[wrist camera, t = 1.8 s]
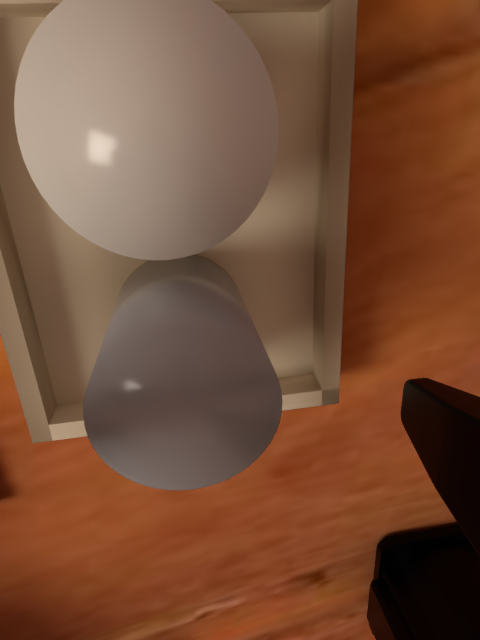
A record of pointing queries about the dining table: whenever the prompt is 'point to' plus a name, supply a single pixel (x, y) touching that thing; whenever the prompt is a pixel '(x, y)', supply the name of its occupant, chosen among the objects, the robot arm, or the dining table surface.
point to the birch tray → (231, 254)
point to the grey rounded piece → (181, 379)
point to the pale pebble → (146, 123)
